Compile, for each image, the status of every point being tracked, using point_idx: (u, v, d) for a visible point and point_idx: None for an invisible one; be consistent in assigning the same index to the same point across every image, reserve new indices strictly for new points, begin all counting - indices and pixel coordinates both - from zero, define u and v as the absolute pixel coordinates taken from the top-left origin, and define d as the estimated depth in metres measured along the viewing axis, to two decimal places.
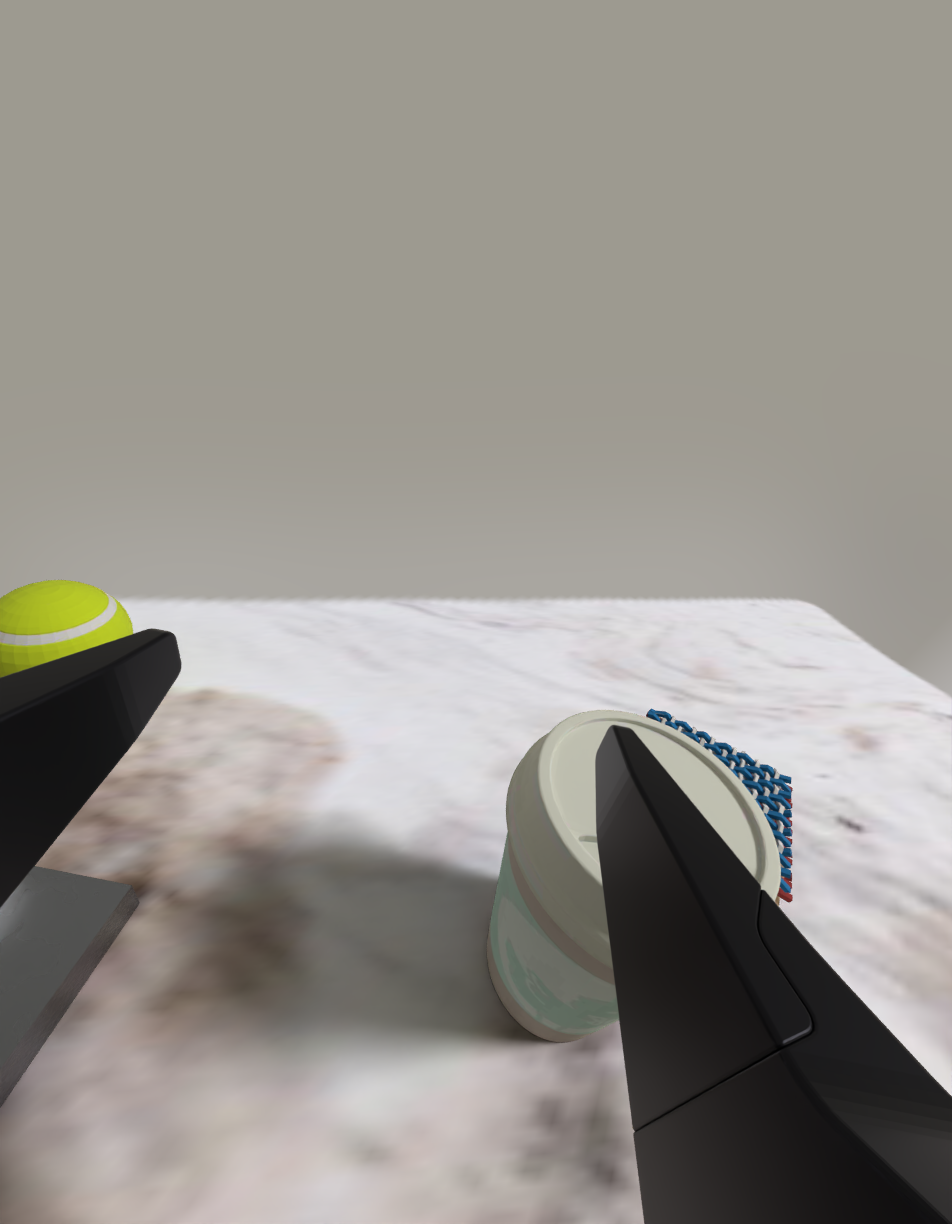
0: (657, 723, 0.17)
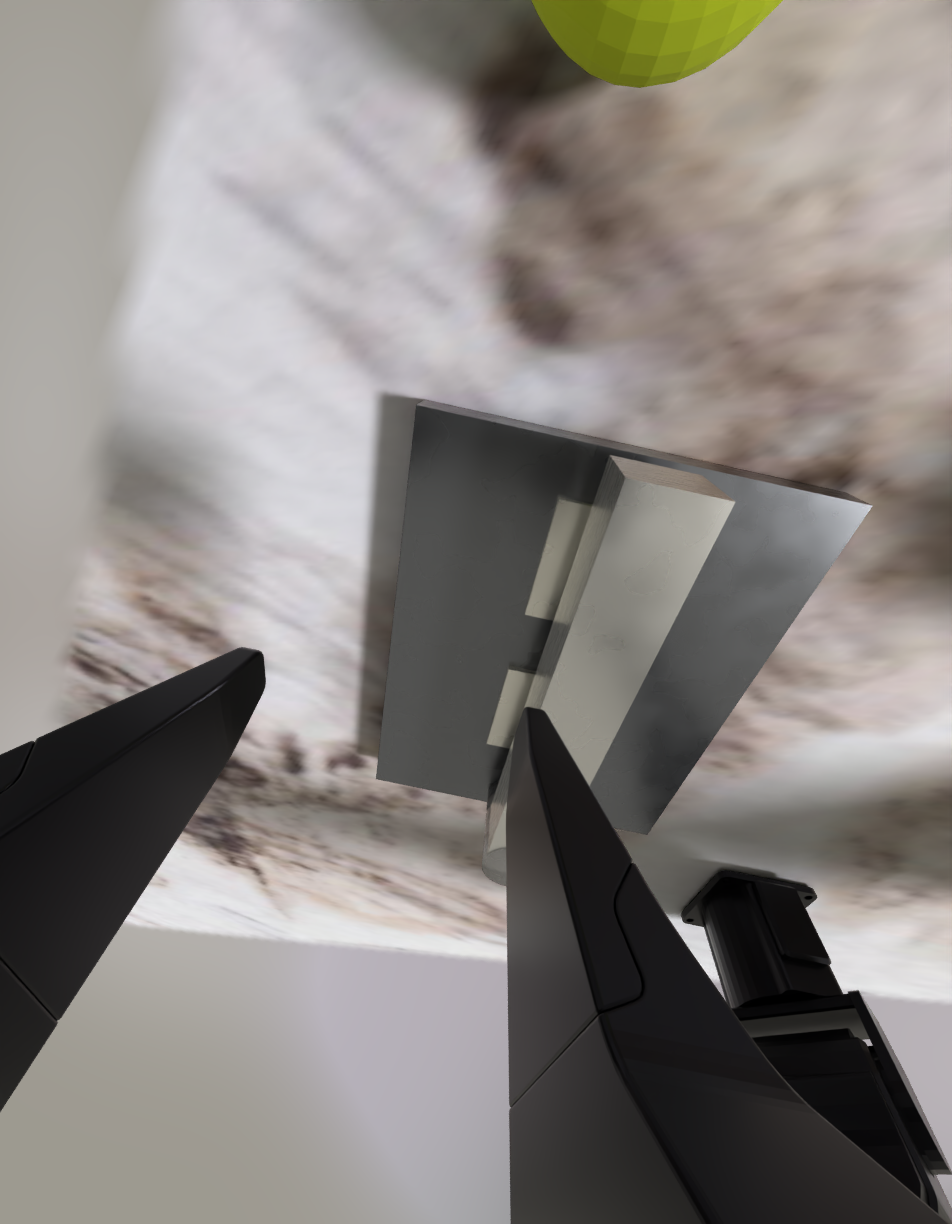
0: None
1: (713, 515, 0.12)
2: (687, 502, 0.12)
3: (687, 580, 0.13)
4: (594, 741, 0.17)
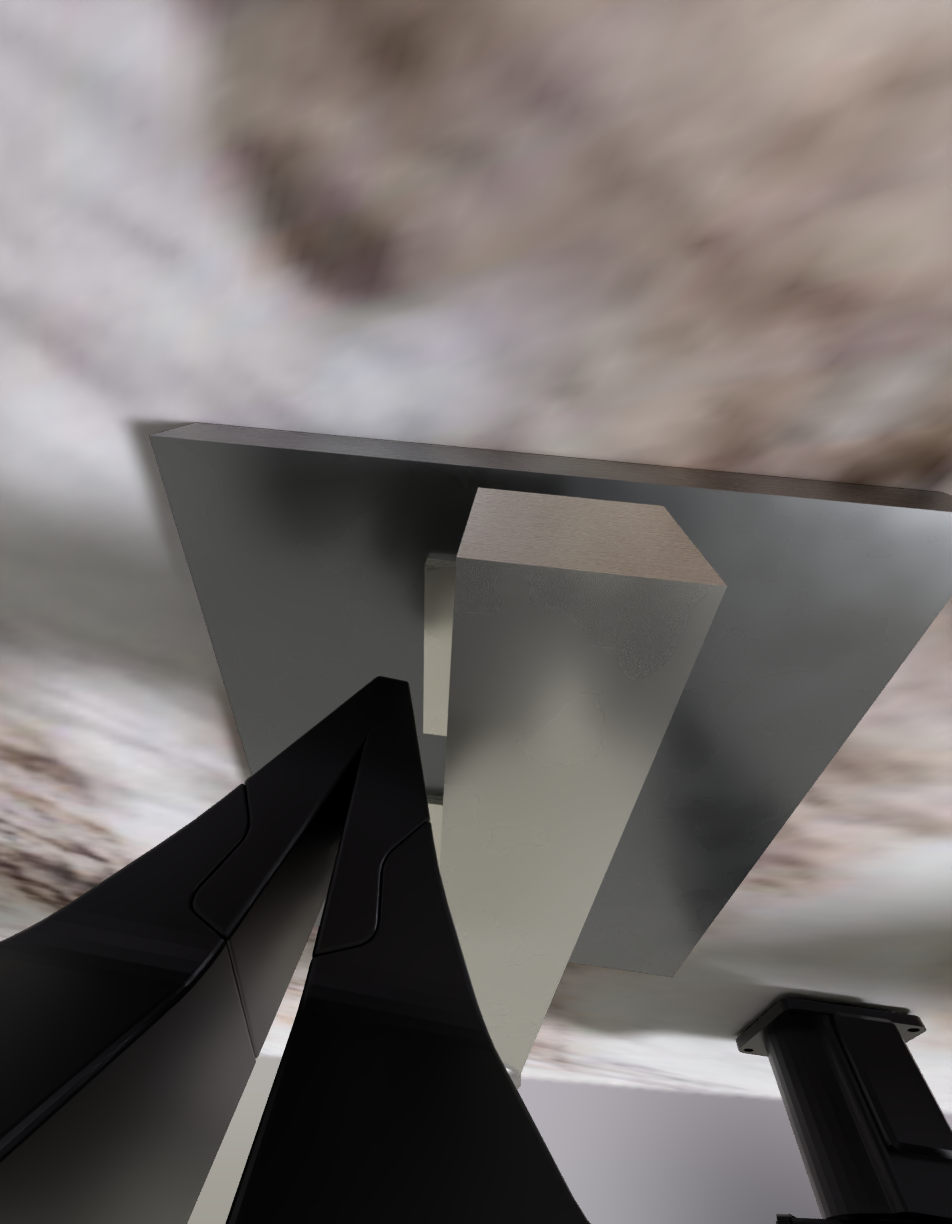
0: None
1: (678, 618, 0.05)
2: (613, 597, 0.05)
3: (646, 738, 0.06)
4: (539, 957, 0.10)
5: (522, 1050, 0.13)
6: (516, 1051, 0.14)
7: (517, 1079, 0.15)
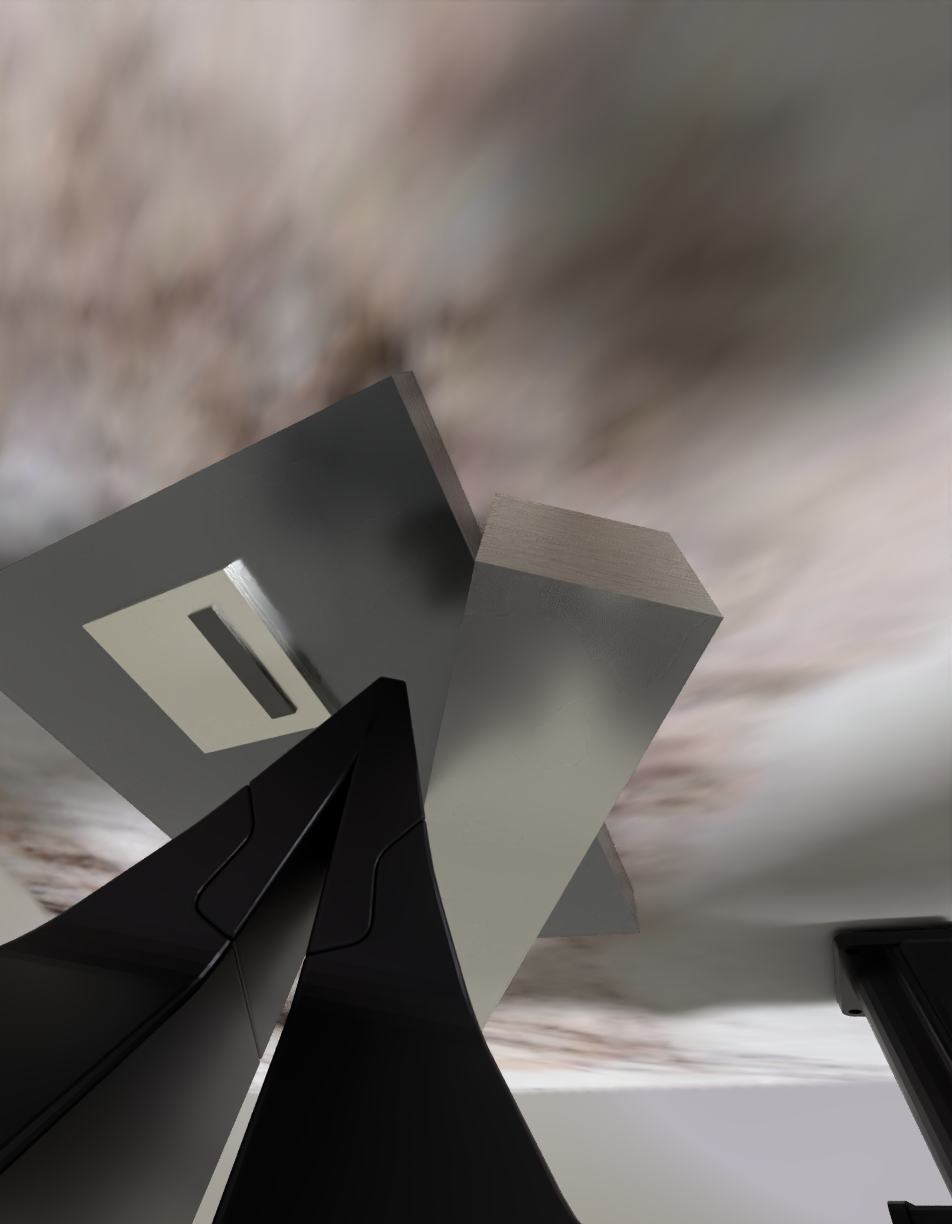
0: None
1: (675, 641, 0.06)
2: (617, 615, 0.05)
3: (629, 750, 0.07)
4: (498, 951, 0.10)
5: None
6: None
7: None
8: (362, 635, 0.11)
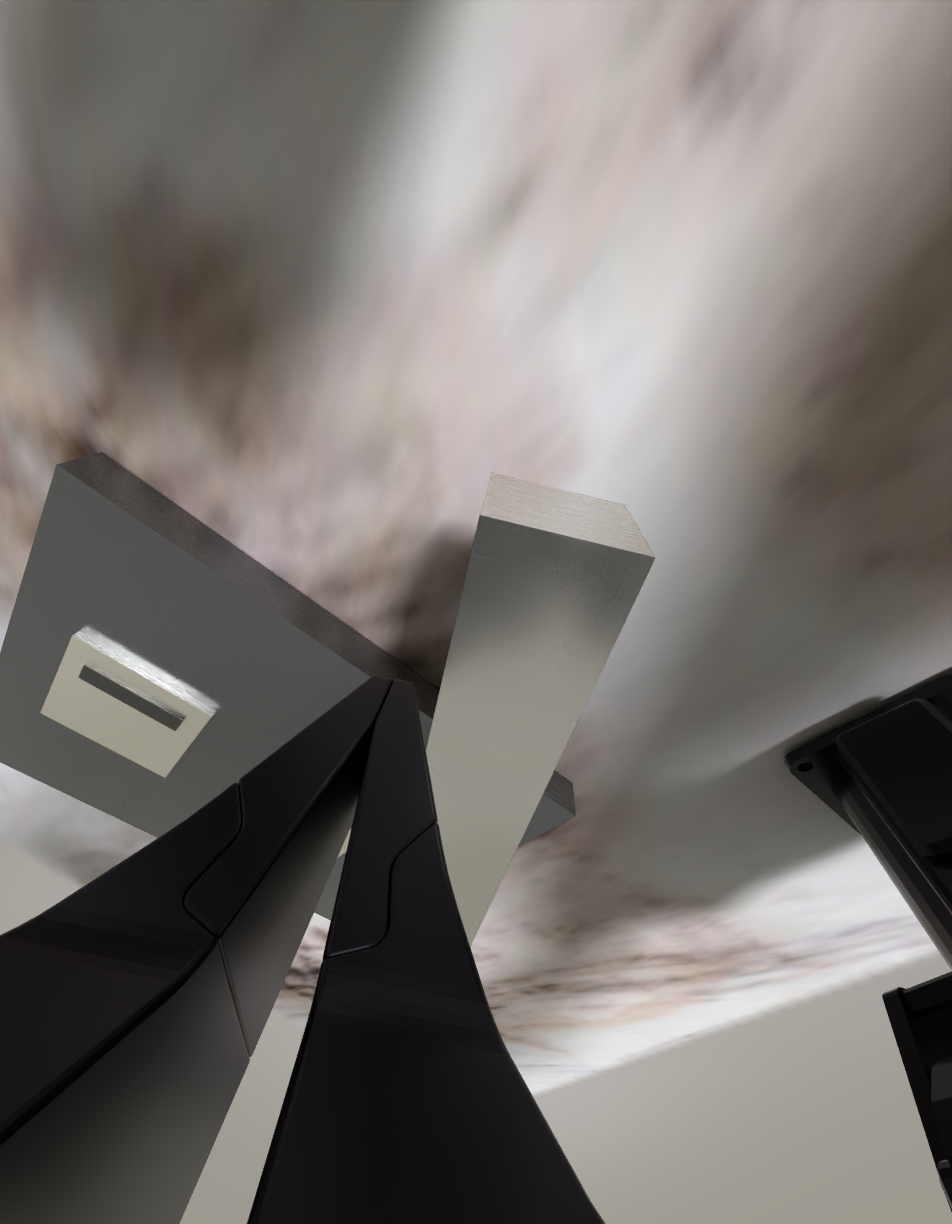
0: None
1: (622, 576, 0.08)
2: (580, 556, 0.08)
3: (592, 665, 0.09)
4: (488, 856, 0.13)
5: None
6: None
7: None
8: (179, 643, 0.15)
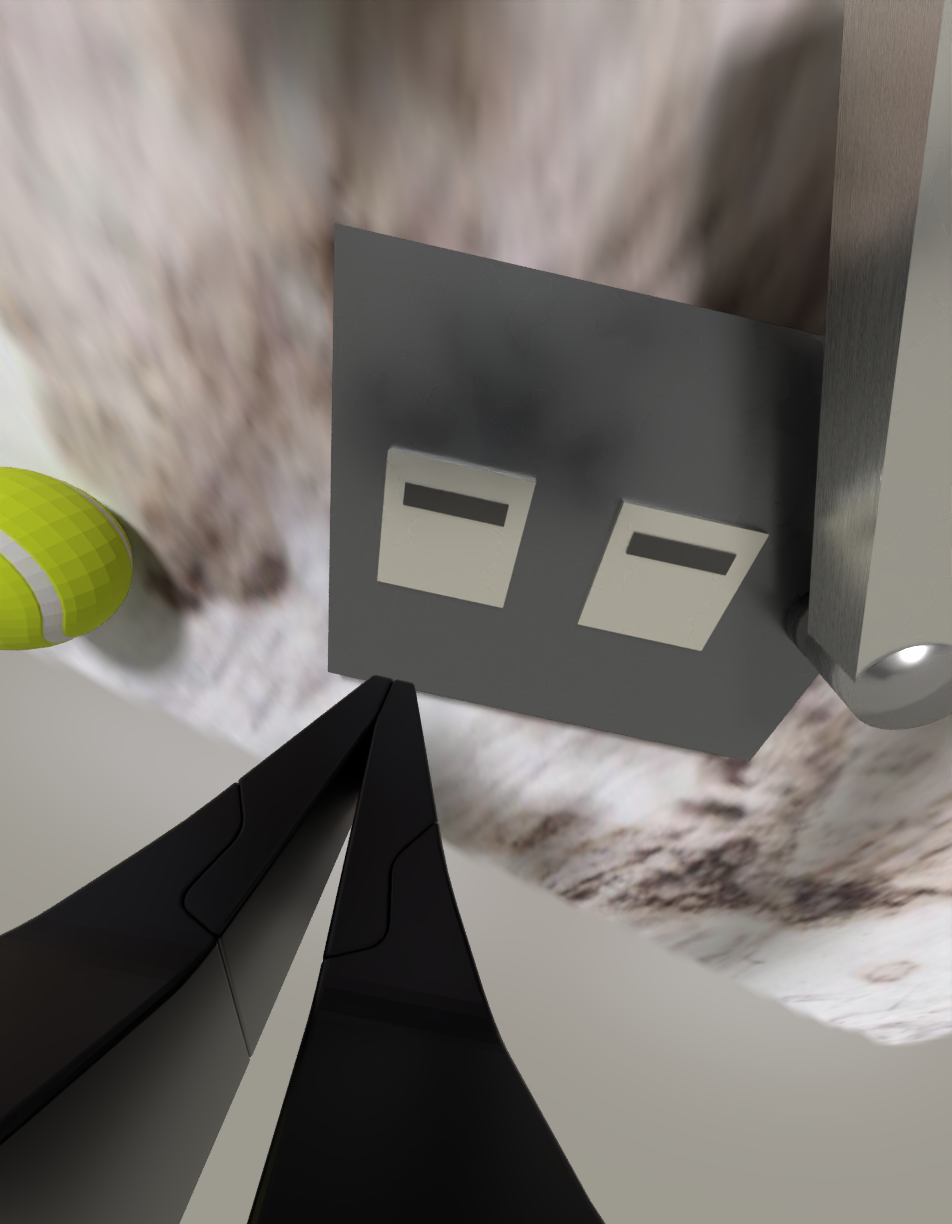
0: None
1: None
2: None
3: None
4: None
5: None
6: None
7: None
8: (483, 400, 0.14)
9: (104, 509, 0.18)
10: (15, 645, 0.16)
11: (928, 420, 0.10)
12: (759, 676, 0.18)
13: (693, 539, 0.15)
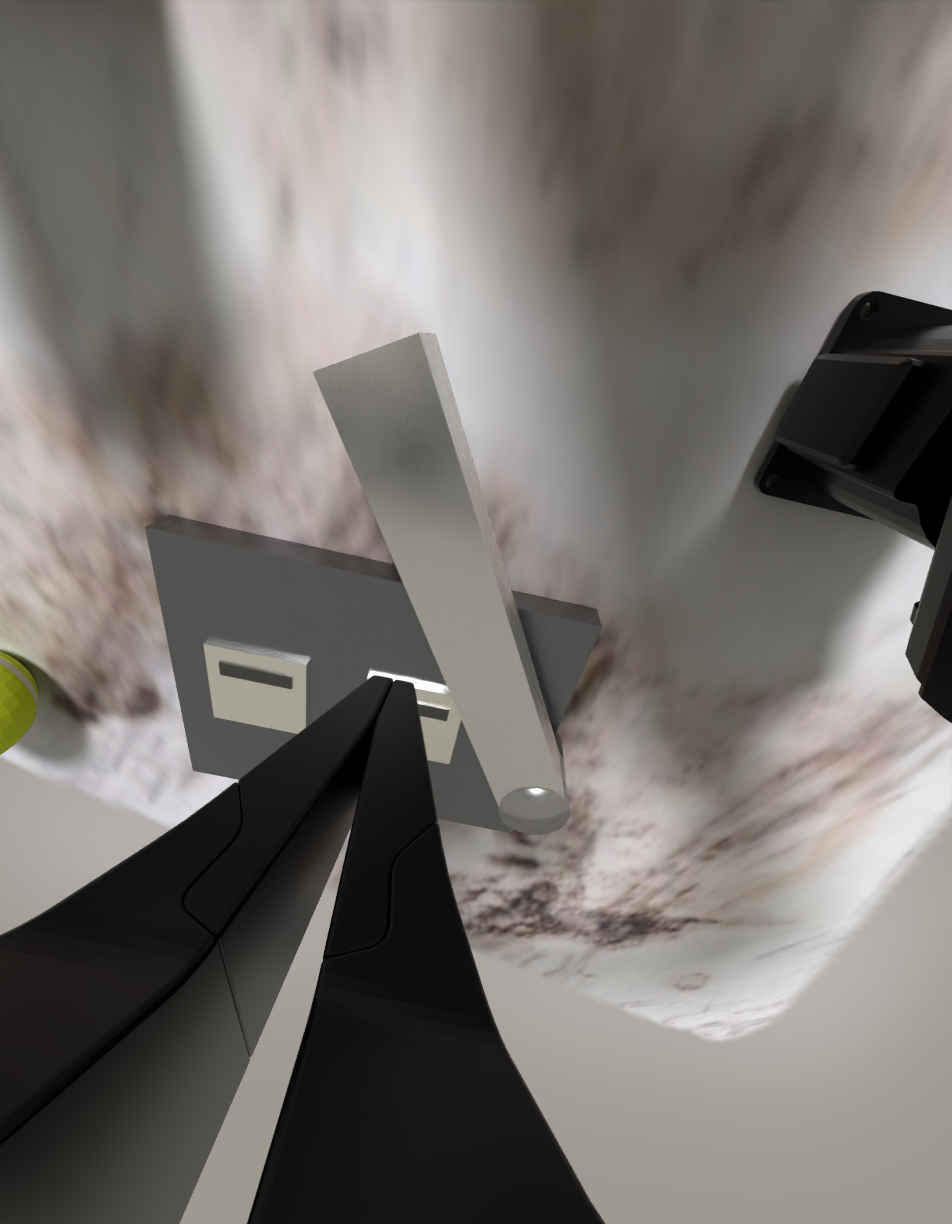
0: None
1: (411, 358, 0.11)
2: (379, 361, 0.12)
3: (442, 435, 0.12)
4: (497, 645, 0.16)
5: (546, 761, 0.19)
6: (544, 765, 0.19)
7: (562, 800, 0.20)
8: (261, 617, 0.21)
9: (13, 664, 0.24)
10: None
11: (466, 684, 0.17)
12: None
13: (418, 699, 0.23)
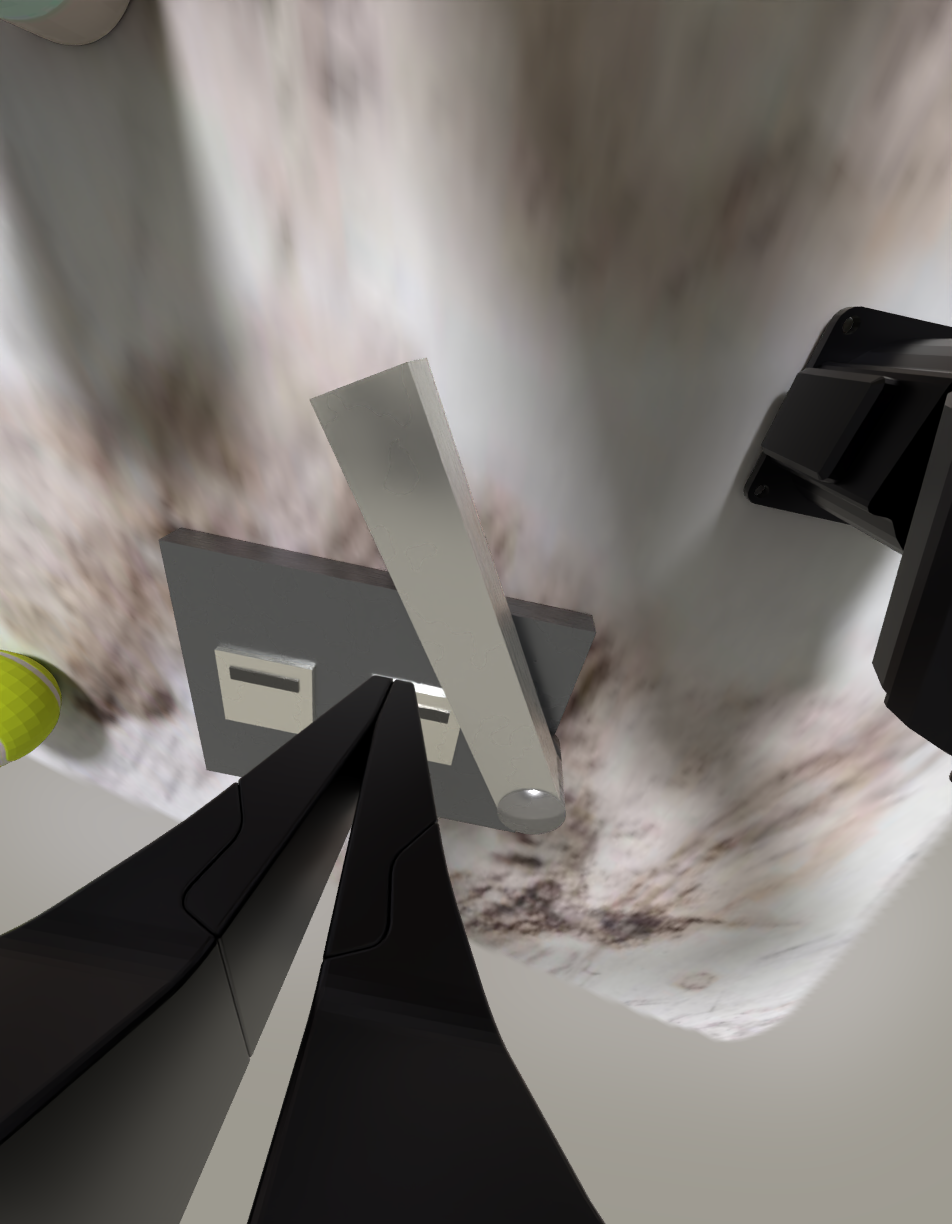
0: None
1: (401, 385, 0.12)
2: (371, 388, 0.12)
3: (432, 456, 0.13)
4: (490, 652, 0.17)
5: (541, 764, 0.19)
6: (539, 767, 0.20)
7: (558, 801, 0.20)
8: (269, 624, 0.22)
9: (38, 669, 0.26)
10: None
11: (462, 689, 0.18)
12: None
13: (420, 703, 0.23)
